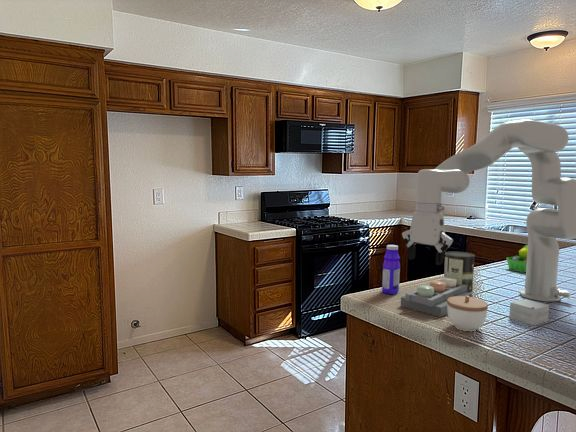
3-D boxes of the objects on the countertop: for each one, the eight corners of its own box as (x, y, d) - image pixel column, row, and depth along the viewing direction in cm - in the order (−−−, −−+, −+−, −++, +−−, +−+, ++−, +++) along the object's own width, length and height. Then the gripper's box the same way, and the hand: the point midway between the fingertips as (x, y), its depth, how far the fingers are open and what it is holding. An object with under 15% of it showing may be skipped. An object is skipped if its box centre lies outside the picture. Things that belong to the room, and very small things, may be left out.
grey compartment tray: (473, 300, 146) (474, 286, 145) (438, 318, 129) (439, 302, 128) (435, 292, 156) (435, 278, 155) (398, 307, 139) (398, 292, 138)
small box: (522, 313, 134) (524, 297, 133) (548, 321, 127) (550, 304, 127) (508, 318, 130) (509, 301, 129) (534, 326, 123) (535, 309, 123)
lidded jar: (483, 338, 114) (485, 304, 113) (441, 329, 119) (443, 297, 118) (488, 325, 123) (490, 294, 122) (449, 318, 128) (451, 288, 127)
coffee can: (469, 288, 161) (471, 251, 160) (475, 296, 151) (477, 257, 150) (440, 286, 163) (442, 250, 162) (445, 294, 153) (447, 256, 152)
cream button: (458, 287, 147) (459, 278, 147) (452, 290, 144) (452, 281, 143) (444, 284, 151) (445, 276, 150) (438, 287, 147) (438, 278, 147)
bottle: (386, 288, 160) (387, 243, 158) (400, 291, 157) (402, 244, 155) (379, 293, 154) (381, 246, 152) (395, 296, 151) (396, 247, 149)
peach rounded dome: (447, 291, 142) (448, 283, 141) (440, 294, 138) (441, 285, 138) (433, 288, 145) (434, 280, 145) (426, 291, 142) (427, 282, 141)
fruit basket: (504, 268, 194) (506, 244, 193) (517, 266, 198) (519, 242, 196) (527, 274, 184) (529, 248, 182) (540, 272, 187) (542, 247, 186)
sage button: (436, 296, 136) (436, 287, 136) (428, 300, 133) (429, 290, 132) (422, 293, 140) (422, 284, 139) (414, 296, 136) (414, 287, 136)
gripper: (460, 210, 130) (456, 264, 132) (410, 205, 143) (407, 255, 145) (448, 211, 125) (444, 268, 127) (397, 206, 138) (395, 258, 140)
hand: (424, 261), depth 136 cm, fingers open, 9 cm apart
